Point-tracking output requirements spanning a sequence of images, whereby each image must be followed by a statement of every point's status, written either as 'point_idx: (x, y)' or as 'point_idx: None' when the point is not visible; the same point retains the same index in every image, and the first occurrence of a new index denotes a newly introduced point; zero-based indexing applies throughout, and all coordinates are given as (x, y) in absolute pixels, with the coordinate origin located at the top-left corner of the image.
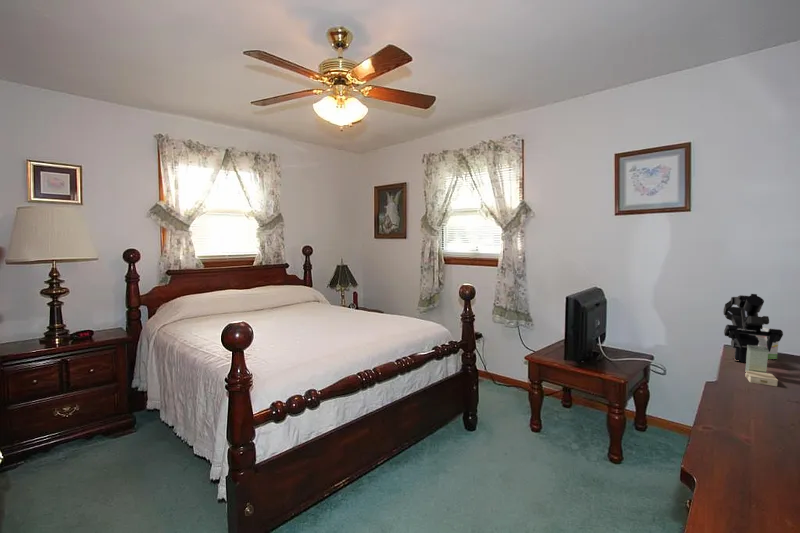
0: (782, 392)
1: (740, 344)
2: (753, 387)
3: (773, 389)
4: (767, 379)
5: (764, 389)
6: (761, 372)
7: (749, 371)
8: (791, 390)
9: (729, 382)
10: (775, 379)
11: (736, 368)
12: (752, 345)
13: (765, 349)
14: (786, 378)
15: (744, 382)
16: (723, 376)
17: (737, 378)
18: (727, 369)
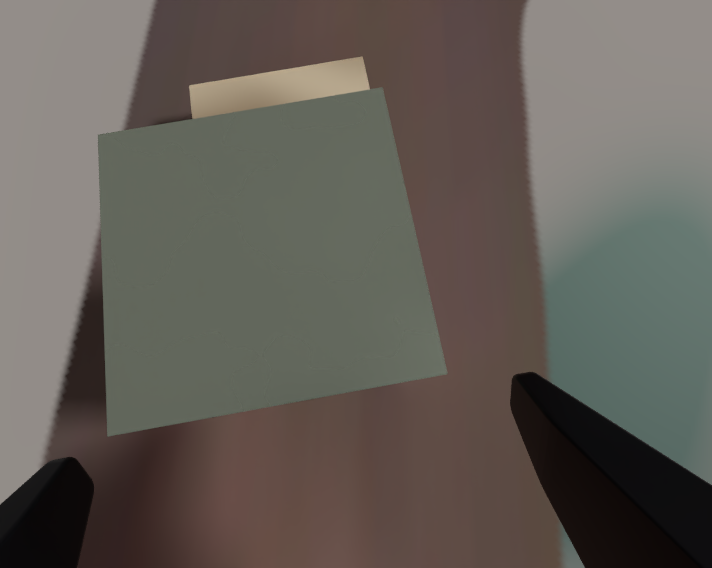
0: (202, 15)
1: (567, 405)
2: (347, 3)
3: (242, 40)
4: (257, 80)
5: (291, 6)
6: None
7: None
8: (142, 92)
9: (475, 10)
10: (204, 89)
11: (462, 478)
12: (343, 364)
13: (146, 139)
14: (99, 418)
15: (394, 73)
16: (523, 123)
17: (437, 139)
18: (524, 371)
